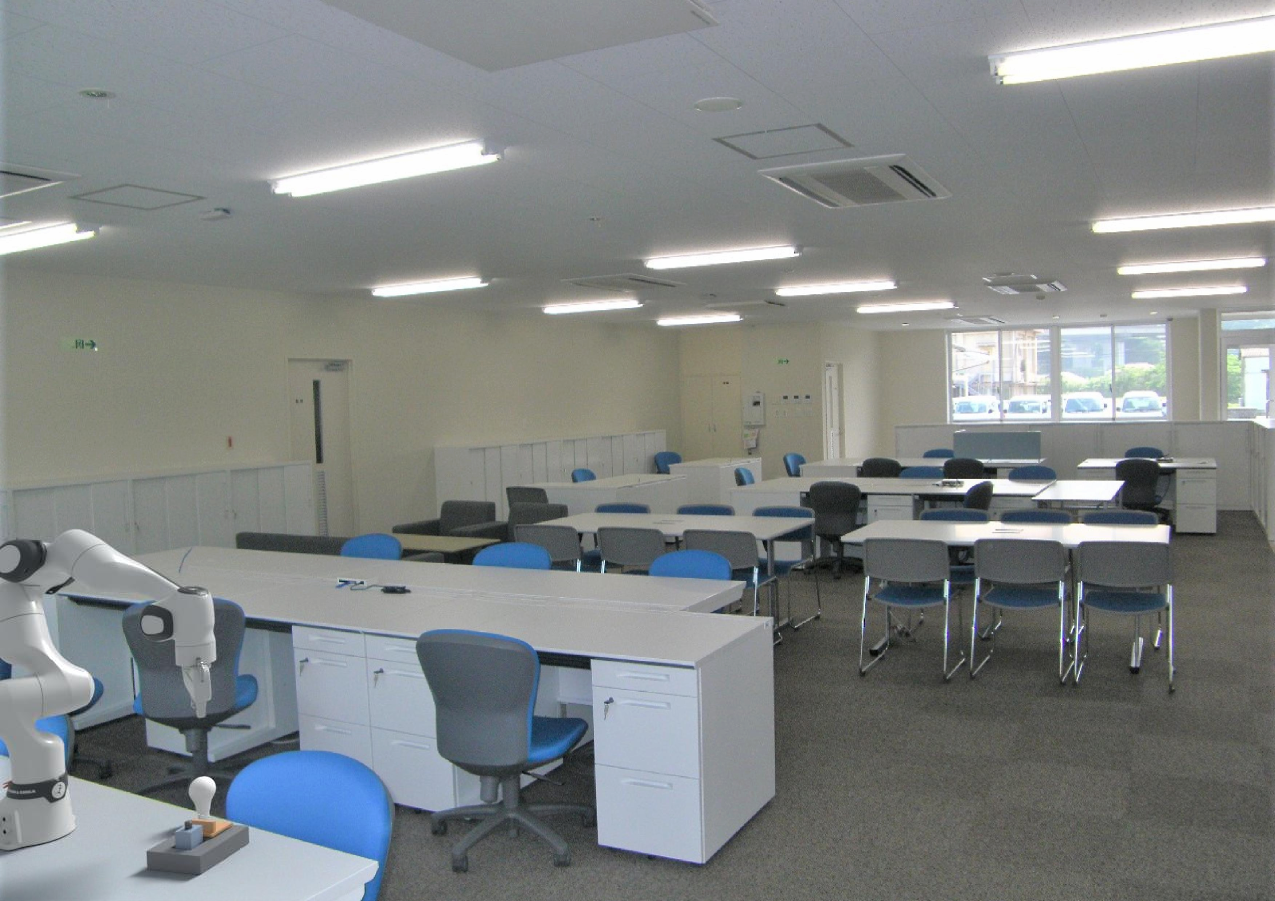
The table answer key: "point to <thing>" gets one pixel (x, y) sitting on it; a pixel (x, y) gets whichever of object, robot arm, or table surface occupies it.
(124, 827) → the table surface
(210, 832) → the panel
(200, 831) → the plug
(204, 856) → the socket block
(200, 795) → the lightbulb
